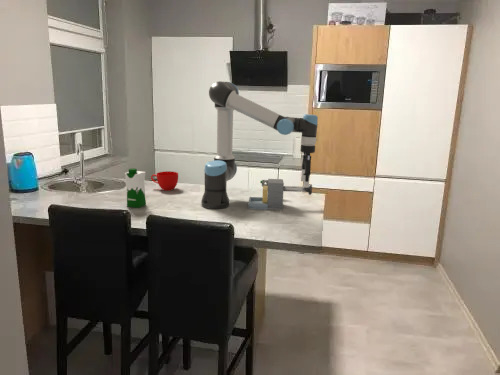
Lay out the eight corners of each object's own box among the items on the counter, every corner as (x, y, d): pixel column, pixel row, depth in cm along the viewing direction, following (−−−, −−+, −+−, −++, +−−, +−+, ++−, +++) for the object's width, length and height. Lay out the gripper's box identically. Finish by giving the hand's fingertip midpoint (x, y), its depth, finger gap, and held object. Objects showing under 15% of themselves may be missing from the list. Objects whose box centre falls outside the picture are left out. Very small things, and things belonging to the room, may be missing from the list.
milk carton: (124, 206, 208) (122, 169, 203) (134, 202, 216) (133, 166, 212) (138, 208, 205) (137, 170, 200) (148, 204, 214) (147, 167, 209)
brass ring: (262, 205, 212) (262, 189, 210) (262, 201, 221) (262, 185, 219) (267, 206, 212) (267, 189, 210) (266, 201, 221) (267, 185, 219)
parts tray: (248, 208, 211) (248, 203, 210) (249, 202, 223) (249, 196, 223) (267, 209, 210) (267, 203, 210) (267, 202, 223) (267, 197, 222)
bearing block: (267, 209, 210) (268, 183, 207) (267, 202, 224) (268, 178, 220) (282, 210, 210) (283, 184, 206) (281, 202, 223) (282, 178, 220)
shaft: (271, 194, 212) (271, 184, 211) (271, 191, 218) (271, 181, 216) (311, 195, 212) (312, 185, 210) (310, 193, 217) (311, 183, 216)
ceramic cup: (155, 186, 254) (155, 170, 251) (181, 187, 252) (181, 171, 249) (147, 190, 241) (147, 174, 239) (174, 192, 239) (174, 176, 237)
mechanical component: (277, 198, 232) (277, 181, 229) (259, 197, 234) (260, 180, 231) (277, 197, 235) (278, 180, 232) (260, 196, 237) (261, 179, 234)
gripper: (318, 148, 196) (314, 190, 201) (312, 141, 220) (309, 179, 225) (303, 147, 196) (299, 189, 201) (298, 141, 220) (295, 178, 226)
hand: (304, 184), depth 213 cm, fingers open, 13 cm apart
